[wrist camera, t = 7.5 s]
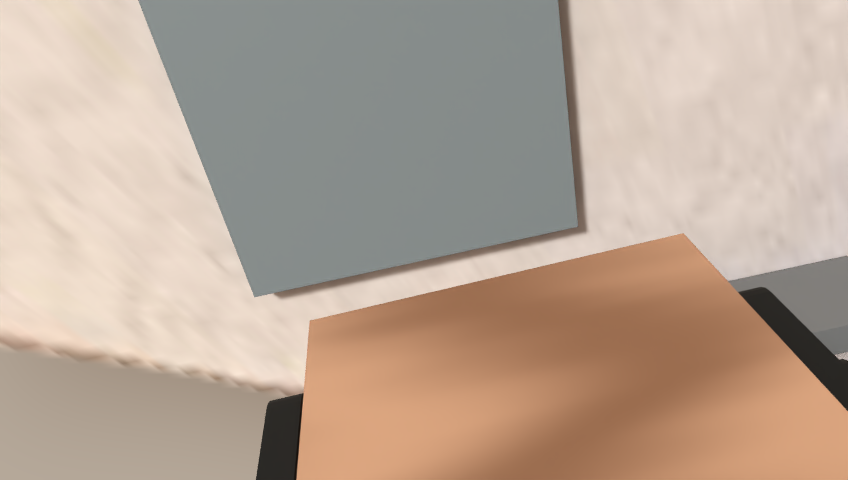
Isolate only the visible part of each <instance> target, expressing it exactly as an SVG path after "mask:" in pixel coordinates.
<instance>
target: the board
mask: <svg viewBox="0 0 848 480" xmlns="http://www.w3.org/2000/svg"><path fill="white" fill-rule="evenodd" d="M138 1H139V3H140V6H141V8H142V11H143V14H144V16H145V19H146V21H147V24H148V26H149V29H150V31H151V34H152V37H153V39H154V42H155V44H156V47H157V49H158V52H159V54H160V57H161V60H162V62H163V65H164V67H165V70H166V72H167V75H168V77H169V80H170V83H171V85H172V88H173V90H174V93H175V95H176V98H177V100H178V103H179V106H180V108H181V111H182V113H183V116H184V118H185V121H186V123H187V126H188V129H189V131H190V134H191V136H192V139H193V141H194V144H195V146H196V149H197V152H198V154H199V157H200V159H201V162H202V164H203V167H204V169H205V172H206V174H207V177H208V180H209V182H210V185H211V187H212V190H213V192H214V195H215V197H216V200H217V203H218V205H219V208H220V210H221V213H222V215H223V218H224V220H225V223H226V226H227V228H228V231H229V233H230V236H231V238H232V241H233V243H234V246H235V249H236V251H237V254H238V256H239V259H240V261H241V264H242V266H243V269H244V272H245V274H246V277H247V279H248V282H249V284H250V287H251V289H252V292H253V295H254V297H258V296H262V295H267V294H271V293H276V292H281V291H285V290H290V289H294V288H299V287H304V286H308V285H313V284H317V283H322V282H326V281H331V280H336V279H340V278H345V277H349V276H354V275H359V274H363V273H368V272H372V271H377V270H382V269H386V268H391V267H395V266H400V265H405V264H409V263H414V262H418V261H423V260H428V259H432V258H437V257H441V256H446V255H451V254H455V253H460V252H464V251H469V250H473V249H478V248H483V247H487V246H492V245H496V244H501V243H506V242H510V241H515V240H519V239H524V238H529V237H533V236H538V235H542V234H547V233H552V232H556V231H561V230H565V229H570V228H575V227H578V220H577V209H576V198H575V186H574V175H573V164H572V152H571V141H570V130H569V118H568V107H567V96H566V85H565V73H564V62H563V51H562V39H561V28H560V17H559V5H558V0H138Z"/></svg>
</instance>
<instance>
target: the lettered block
mask: <svg viewBox="0 0 848 480" xmlns="http://www.w3.org/2000/svg"><path fill="white" fill-rule="evenodd" d="M296 480H848V411H847V410H846V409H845V408H844V407H843V406H842V405H841V403H840V402H839V401H838V400H837V399H836V398H835V397H834V396H833V395H832V394H831V393H830V392H829V390H828V389H827V388H826V387H825V386H824V385H823V384H822V383H821V382H820V381H819V380H818V379H817V377H816V376H815V375H814V374H813V373H812V372H811V371H810V370H809V369H808V368H807V367H806V366H805V364H804V363H803V362H802V361H801V360H800V359H799V358H798V357H797V356H796V355H795V354H794V353H793V351H792V350H791V349H790V348H789V347H788V346H787V345H786V344H785V343H784V342H783V341H782V340H781V338H780V337H779V336H778V335H777V334H776V333H775V332H774V331H773V330H772V329H771V328H770V327H769V325H768V324H767V323H766V322H765V321H764V320H763V319H762V318H761V317H760V316H759V315H758V314H757V312H756V311H755V310H754V309H753V308H752V307H751V306H750V305H749V304H748V303H747V302H746V301H745V299H744V298H743V297H742V296H741V295H740V294H739V293H738V292H737V291H736V290H735V289H734V288H733V286H732V285H731V284H730V283H729V282H728V281H727V280H726V279H725V278H724V277H723V276H722V275H721V274H720V272H719V271H718V270H717V269H716V268H715V267H714V266H713V265H712V264H711V263H710V262H709V261H708V259H707V258H706V257H705V256H704V255H703V254H702V253H701V252H700V251H699V250H698V249H697V248H696V246H695V245H694V244H693V243H692V242H691V241H690V240H689V239H688V238H687V237H686V236H685V235H684V233H683V234H678V235H674V236H670V237H666V238H661V239H657V240H653V241H649V242H644V243H640V244H636V245H631V246H627V247H623V248H619V249H614V250H610V251H606V252H602V253H597V254H593V255H589V256H584V257H580V258H576V259H572V260H567V261H563V262H559V263H555V264H550V265H546V266H542V267H537V268H533V269H529V270H525V271H520V272H516V273H512V274H508V275H503V276H499V277H495V278H490V279H486V280H482V281H478V282H473V283H469V284H465V285H461V286H456V287H452V288H448V289H443V290H439V291H435V292H431V293H426V294H422V295H418V296H414V297H409V298H405V299H401V300H396V301H392V302H388V303H384V304H379V305H375V306H371V307H367V308H362V309H358V310H354V311H349V312H345V313H341V314H337V315H332V316H328V317H324V318H320V319H315V320H311V321H310V325H309V336H308V348H307V360H306V372H305V384H304V396H303V408H302V419H301V431H300V443H299V455H298V467H297V479H296Z"/></svg>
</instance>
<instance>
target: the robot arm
mask: <svg viewBox="0 0 848 480" xmlns="http://www.w3.org/2000/svg"><path fill="white" fill-rule="evenodd" d="M738 293H739V294H740V295H741V296H742V297H743V298H744V299H745V301H746V302H747V303H748V304H749V305H750V306H751V307H752V308H753V309H754V310H755V311H756V312H757V314H758V315H759V316H760V317H761V318H762V319H763V320H764V321H765V322H766V323H767V324H768V325H769V327H770V328H771V329H772V330H773V331H774V332H775V333H776V334H777V335H778V336H779V337H780V338H781V340H782V341H783V342H784V343H785V344H786V345H787V346H788V347H789V348H790V349H791V350H792V351H793V353H794V354H795V355H796V356H797V357H798V358H799V359H800V360H801V361H802V362H803V363H804V364H805V366H806V367H807V368H808V369H809V370H810V371H811V372H812V373H813V374H814V375H815V376H816V377H817V379H818V380H819V381H820V382H821V383H822V384H823V385H824V386H825V387H826V388H827V389H828V390H829V392H830V393H831V394H832V395H833V396H834V397H835V398H836V399H837V400H838V401H839V402H840V403H841V405H842V406H843V407H844V408H845V409H846V410H847V411H848V361H847V360H844V359H840V360H839V359H838V358H837V357H836V356H835V355H834V354H833V353H832V352H831V351H830V350H829V349H828V348H827V347H826V346H825V345H824V344H823V343H822V342H821V341H820V340H819V339H818V338H817V337H816V336H815V335H814V334H813V333H812V332H811V331H810V330H809V329H808V328H807V327H806V326H805V325H804V324H803V323H802V322H801V321H800V320H799V319H798V318H797V317H796V316H795V315H794V314H793V313H792V312H791V311H790V310H789V309H788V308H787V307H786V306H785V305H784V304H783V303H782V302H781V301H780V300H779V299H778V298H777V297H776V296H775V295H774V294H773V293H772V292H771V291H769V290H768V289H767V288H765V287H758V288H753V289H749V290H745V291H740V292H738ZM303 396H304V393H303V394H298V395H294V396H290V397H285V398H281V399H277V400H273V401H270V402H269V403H268V405H267V410H266V416H265V424H264V430H263V436H262V443H261V450H260V457H259V464H258V470H257V476H256V480H296V479H297V467H298V455H299V443H300V431H301V419H302V408H303Z"/></svg>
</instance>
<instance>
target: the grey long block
mask: <svg viewBox="0 0 848 480" xmlns="http://www.w3.org/2000/svg"><path fill="white" fill-rule="evenodd" d="M728 282H729V283H730V284H731V285H732V286H733V288H734V289H735V290H736V291H737V292H740V291H745V290H749V289H753V288H758V287H765V288H767V289H768V290H769V291H771V292H772V293H773V294H774V295H775V296H776V297H777V298H778V299H779V300H780V301H781V302H782V303H783V304H784V305H785V306H786V307H787V308H788V309H789V310H790V311H791V312H792V313H793V314H794V315H795V316H796V317H797V318H798V319H799V320H800V321H801V322H802V323H803V324H804V325H805V326H806V327H807V328H808V329H809V330H810V331H811V332H812V333H813V334H814V335H815V336H816V337H817V338H818V339H819V340H820V341H821V342H822V343H823V344H824V345H825V346H826V347H827V348H828V349H829V350H830V351H831V352H832V353H833V354H834V355H835V354H839V353H844V352H848V256H844V257H839V258H835V259H830V260H825V261H821V262H816V263H812V264H807V265H802V266H798V267H793V268H788V269H784V270H779V271H775V272H770V273H765V274H761V275H756V276H751V277H747V278H742V279H738V280H733V281H728Z"/></svg>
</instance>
